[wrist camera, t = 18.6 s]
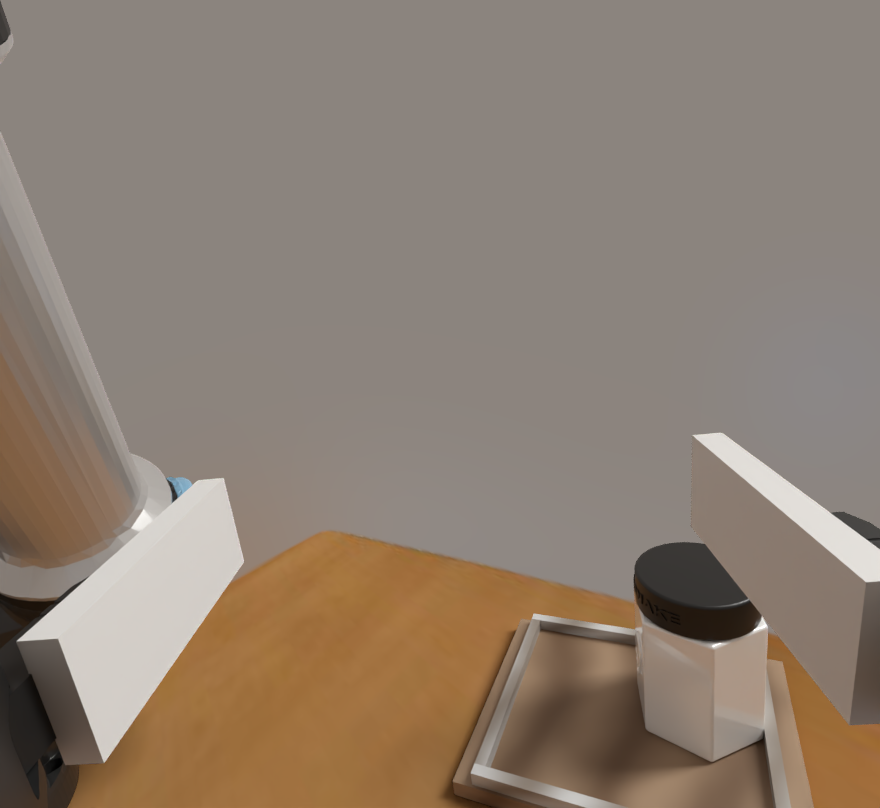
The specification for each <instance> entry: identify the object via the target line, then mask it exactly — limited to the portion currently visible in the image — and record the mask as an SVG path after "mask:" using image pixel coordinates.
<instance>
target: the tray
mask: <svg viewBox="0 0 880 808" xmlns="http://www.w3.org/2000/svg"><path fill="white" fill-rule="evenodd" d="M635 632H636V630H634V629H628V628H622V627H616V626H609V625H603V624H597V623H590V622H584V621H578V620H571V619H565V618H559V617H552V616H546V615H540V614H534V615H533V617H532V620H526V619H521V621H520V623H519V625H518V628H517V630H516V632H515V635H514V637H513V640H512V642H511V644H510V647H509V649H508V651H507V654H506V656H505V658H504V661H503V663H502V666H501V668H500V670H499V673H498V675H497V677H496V680H495V682H494V684H493V687H492V689H491V692H490V694H489V696H488V699H487V701H486V703H485V706H484V708H483V710H482V713H481V715H480V717H479V720H478V722H477V725H476V727H475V729H474V732H473V734H472V736H471V739H470V741H469V743H468V746H467V748H466V751H465V753H464V755H463V758H462V760H461V762H460V765H459V767H458V769H457V772H456V774H455V777H454V779H453V781H452V782H453V789H454V795H457V796H460V797H463V798H466V799H470V800H473V801H476V802H479V803H482V804H485V805H488V806H491V807H495V808H814V806H813V801H812V797H811V792H810V787H809V783H808V778H807V774H806V769H805V764H804V760H803V755H802V750H801V746H800V741H799V736H798V732H797V727H796V723H795V718H794V713H793V709H792V704H791V699H790V695H789V690H788V686H787V681H786V676H785V672H784V667H783V662H781V661H775V660H769V659H767V666H766V692H765V718H764V737H763V739H762V740H759V741H757V742H755V743H753V744H750V745H748V746H746V747H744V748H742V749H740V750H737V751H735V752H733V753H731V754H729V755H727V756H724V757H722V758H720V759H718V760H716V761H714V762H710V761H708V760H706V759H704V758H702V757H700V756H698V755H696V754H693V753H691V752H689V751H687V750H685V749H683V748H681V747H679V746H677V745H675V744H673V743H671V742H669V741H667V740H665V739H663V738H661V737H659V736H657V735H655V734H653V733H651V732H649V731H647V730H646V728H645V723H644V717H643V712H642V706H641V700H640V695H639V689H638V684H637V659H636V657H637V656H636V642H635Z"/></svg>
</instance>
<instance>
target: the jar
mask: <svg viewBox="0 0 880 808" xmlns="http://www.w3.org/2000/svg"><path fill="white" fill-rule="evenodd" d="M634 601H635V629H636V632H635V642H636V656H637V657H636V659H637V684H638V689H639V695H640V700H641V706H642V712H643V717H644V723H645V728H646V730H647V731H649V732H651V733H653V734H655V735H657V736H659V737H661V738H663V739H665V740H667V741H669V742H671V743H673V744H675V745H677V746H679V747H681V748H683V749H685V750H687V751H689V752H691V753H693V754H696V755H698V756H700V757H702V758H704V759H706V760H708V761H710V762H714V761H716V760H718V759H720V758H722V757H724V756H727V755H729V754H731V753H733V752H735V751H737V750H740V749H742V748H744V747H746V746H748V745H750V744H753V743H755V742H757V741H759V740H762V739H763V737H764V718H765V692H766V666H767V640H768V626H767V624H766V623H765V621H764V619H763V617H762V615H761V614H760V612H759V611H758V610H757V609H756V607H755V606H754V605H753V604H752V602H751V601H750V600H749V599H748V597H747V596H746V595H745V594H744V592H743V591H742V590H741V589H740V587H739V586H738V585H737V584H736V582H735V581H734V580H733V579H732V577H731V576H730V575H729V574H728V572H727V571H726V570H725V569H724V567H723V566H722V565H721V564H720V562H719V561H718V560H717V559H716V557H715V556H714V555H713V554H712V552H711V551H710V550H709V548H708V547H707V546H706V545H705V544H701V543H689V542H688V543H687V542H682V543H681V542H680V543H669V544H664V545H660V546H656V547H654V548H651V549H649V550H647V551H646V552H645V553H643V554H642V555H641V556H640V557H639V558H638V560H637V561H636V564H635V574H634Z"/></svg>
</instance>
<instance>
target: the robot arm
mask: <svg viewBox="0 0 880 808" xmlns="http://www.w3.org/2000/svg"><path fill="white" fill-rule="evenodd" d="M13 44H14V42H13V36H12V33H11V30H10V28H9V25H8V22H7V19H6V16H5V13H4V11H3V8H2V5H1V2H0V64H1V63H2V61H3V60H4V58H5V57H6V55H7V54H8V52H9V51H10V49H11V48H12V46H13ZM691 527H692V528H693V530H694V531H695V532H696V533H697V535H698V536H699V537H700V538H701V540H702V541H703V542H704V543H705V545H706V546H707V547H708V548H709V550H710V551H711V552H712V554H713V555H714V556H715V557H716V559H717V560H718V561H719V562H720V564H721V565H722V566H723V567H724V569H725V570H726V571H727V572H728V574H729V575H730V576H731V577H732V579H733V580H734V581H735V582H736V584H737V585H738V586H739V587H740V589H741V590H742V591H743V592H744V594H745V595H746V596H747V597H748V599H749V600H750V601H751V602H752V604H753V605H754V606H755V607H756V609H757V610H758V611H759V612H760V614H761V615H762V616H763V617H764V619H765V620H766V621H767V623H768V624H769V625H770V626H771V627H772V629H773V630H774V631H775V633H776V634H777V635H778V636H779V638H780V639H781V640H782V641H783V643H784V644H785V645H786V646H787V648H788V649H789V650H790V651H791V653H792V654H793V655H794V656H795V658H796V659H797V660H798V661H799V663H800V664H801V665H802V666H803V668H804V669H805V670H806V671H807V673H808V674H809V675H810V676H811V678H812V679H813V680H814V681H815V683H816V684H817V685H818V686H819V688H820V689H821V690H822V692H823V693H824V694H825V695H826V697H827V698H828V699H829V700H830V702H831V703H832V704H833V705H834V707H835V708H836V709H837V710H838V712H839V713H840V714H841V715H842V717H843V718H844V719H845V720H846V722H847V723H848V724H849V725H862V724H880V529H879V528H877V527H875V526H874V525H873V524H871V523H869V522H867V521H864V520H862V519H859V518H857V517H855V516H852V515H850V514H847V513H845V512H834V513H830V512H828V511H827V510H826V509H824V508H823V507H822V506H820V505H819V504H817V503H816V502H815V501H813V500H812V499H811V498H809V497H808V496H807V495H805V494H804V493H803V492H801V491H800V490H799V489H797V488H796V487H794V486H793V485H792V484H790V483H789V482H787V481H786V480H785V479H784V478H782V477H781V476H780V475H778V474H777V473H776V472H774V471H773V470H771V469H770V468H769V467H767V466H766V465H765V464H763V463H762V462H761V461H759V460H758V459H757V458H755V457H754V456H752V455H751V454H750V453H749V452H747V451H746V450H744V449H743V448H742V447H740V446H739V445H738V444H736V443H735V442H734V441H732V440H731V439H730V438H728V437H727V436H725V435H724V434H723V433H711V434H701V435H693V436H692V488H691ZM243 563H244V559H243V555H242V551H241V547H240V543H239V539H238V535H237V531H236V527H235V522H234V518H233V514H232V510H231V506H230V502H229V498H228V494H227V490H226V486H225V482H224V478H218V479H208V480H198V481H197V482H196V483H194V484H193V485H192V483H191V482H190V480H188V479H185V478H182V477H180V478H173V477H169V478H165V477H164V475H163V473H162V472H161V471H160V470H159V469H158V468H157V467H156V466H155V465H154V464H152V463H151V462H149V461H148V460H146V459H144V458H142V457H140V456H137V455H134V454H131V453H130V451H129V449H128V446H127V444H126V442H125V439H124V437H123V434H122V432H121V429H120V427H119V424H118V422H117V419H116V417H115V414H114V412H113V409H112V407H111V405H110V402H109V399H108V397H107V394H106V392H105V389H104V387H103V384H102V382H101V379H100V377H99V374H98V372H97V370H96V367H95V365H94V362H93V360H92V357H91V355H90V352H89V350H88V347H87V345H86V342H85V340H84V337H83V335H82V332H81V330H80V327H79V325H78V323H77V320H76V317H75V315H74V313H73V310H72V307H71V305H70V303H69V300H68V298H67V295H66V293H65V290H64V288H63V285H62V283H61V280H60V278H59V275H58V273H57V270H56V268H55V266H54V263H53V260H52V258H51V255H50V253H49V250H48V248H47V245H46V243H45V240H44V238H43V236H42V233H41V231H40V228H39V226H38V223H37V221H36V218H35V216H34V213H33V211H32V208H31V206H30V203H29V201H28V198H27V196H26V193H25V191H24V188H23V186H22V183H21V181H20V179H19V176H18V173H17V171H16V169H15V166H14V164H13V161H12V159H11V156H10V154H9V151H8V149H7V146H6V144H5V141H4V139H3V136H2V134H1V132H0V808H67V807H68V805H69V803H70V801H71V799H72V797H73V794H74V792H75V789H76V786H77V782H78V776H79V766H78V764H98V763H105V761H106V760H107V758H108V757H109V755H110V754H111V753H112V751H113V750H114V748H115V747H116V745H117V744H118V743H119V741H120V740H121V738H122V737H123V735H124V734H125V732H126V731H127V730H128V728H129V727H130V725H131V724H132V722H133V721H134V720H135V718H136V717H137V715H138V714H139V712H140V711H141V709H142V708H143V707H144V705H145V704H146V702H147V701H148V699H149V698H150V696H151V695H152V694H153V692H154V691H155V689H156V688H157V686H158V685H159V684H160V682H161V681H162V679H163V678H164V676H165V675H166V673H167V672H168V671H169V669H170V668H171V666H172V665H173V663H174V662H175V661H176V659H177V658H178V656H179V655H180V653H181V652H182V650H183V649H184V648H185V646H186V645H187V643H188V642H189V640H190V639H191V638H192V636H193V635H194V633H195V632H196V630H197V629H198V627H199V626H200V625H201V623H202V622H203V620H204V619H205V617H206V616H207V614H208V613H209V612H210V610H211V609H212V607H213V606H214V604H215V603H216V602H217V600H218V599H219V597H220V596H221V594H222V593H223V591H224V590H225V589H226V587H227V586H228V584H229V583H230V581H231V580H232V579H233V577H234V576H235V574H236V573H237V571H238V570H239V568H240V567H241V566H242V564H243Z"/></svg>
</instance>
